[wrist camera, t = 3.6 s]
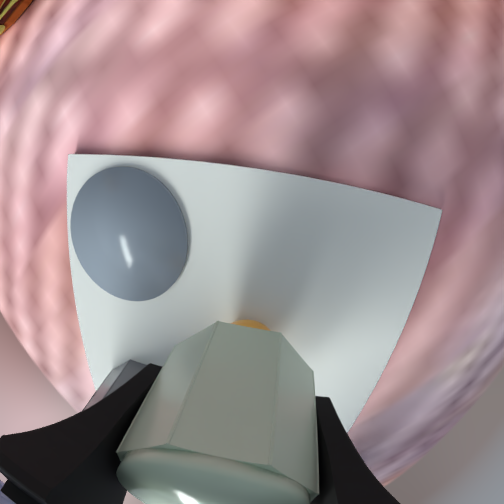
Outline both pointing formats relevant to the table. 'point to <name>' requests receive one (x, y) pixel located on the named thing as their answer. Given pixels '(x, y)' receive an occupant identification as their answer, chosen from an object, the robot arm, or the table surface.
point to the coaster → (129, 233)
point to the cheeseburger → (11, 12)
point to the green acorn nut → (226, 424)
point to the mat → (269, 271)
